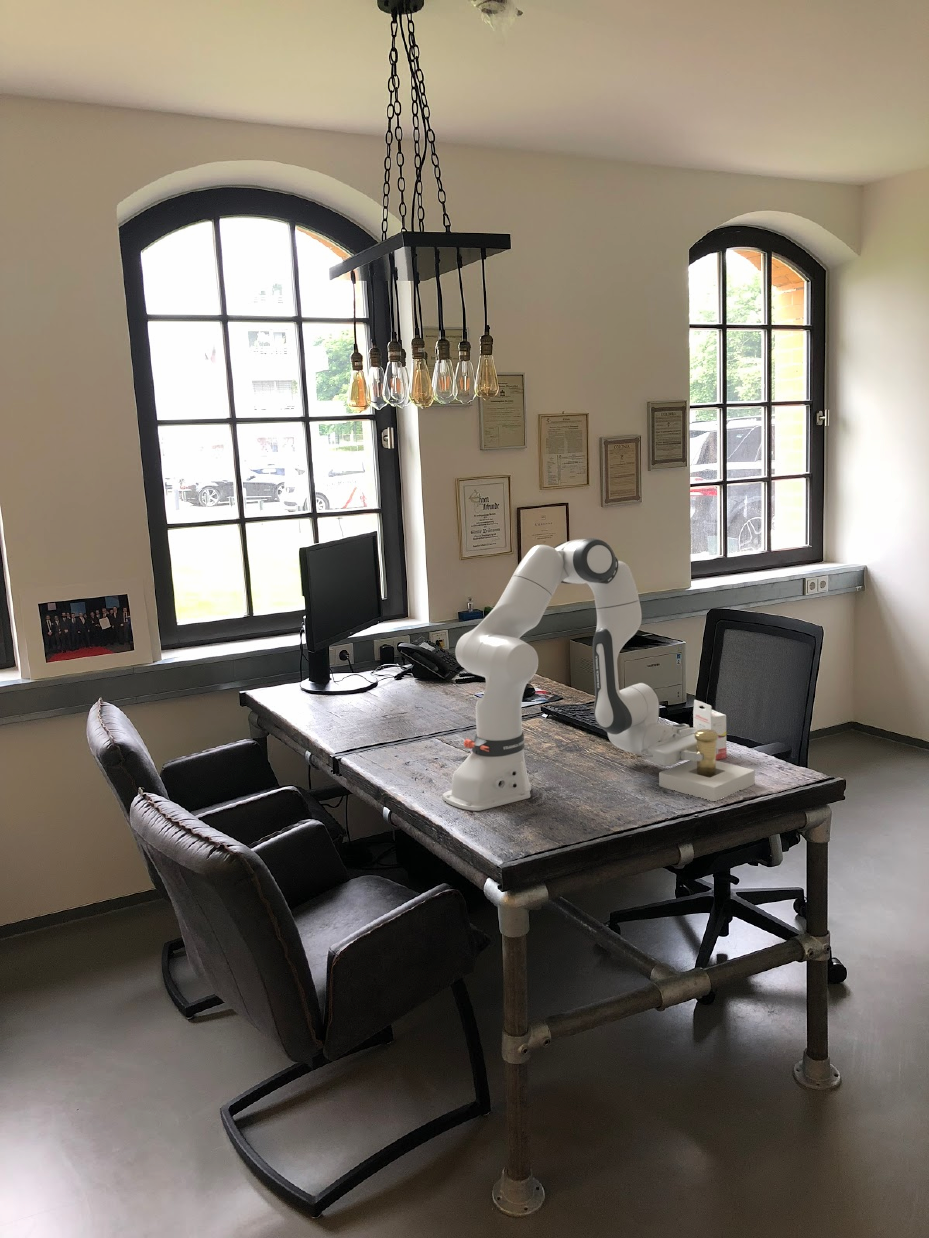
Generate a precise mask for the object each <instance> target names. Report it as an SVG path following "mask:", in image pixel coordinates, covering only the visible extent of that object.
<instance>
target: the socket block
mask: <svg viewBox="0 0 929 1238" xmlns="http://www.w3.org/2000/svg"><path fill="white" fill-rule="evenodd" d="M755 771H756V770H755V769H752V768H747V767H743V766H739V765H736V764H735V765H734V764H731V763H727V762H722V761H720V760H716V775H715V776H713V777H710V778H709V777H705V776H701V775H698V774H697V761H696V760H686V761H685V762H682V763H680V764H678V765H675V766H674V765H673V766H672V767H670V768H667V769H664V770H662V771H659V772H658V780H659V781H658V782H659V783H658V784H659V787H660V788H664V789H666V790H667V789H668V790H672V791H674V790H675V792H677V793H678V792H679V793H682V794H685V795H688V794H689V796H691V795H693V796H692V797H696V798H698V797H702V798H704V799H703V800H705V799H707V800H706V801H709V800H710V801H709V802H712V801H716V802H718V801H720V800H719V799H721V798H723V797H725V798H727V797H729V796H731V795H730V794H732V795H734V794H736V793H738V792H740V791H739V790H741V791H742V790H745V789H748V788H750V787H751V786H754V785H755V784H756V776H755V775H756V772H755ZM737 791H738V792H737ZM735 792H736V793H735ZM733 793H734V794H733ZM728 795H729V796H728ZM702 798H701V799H702ZM723 799H724V798H723ZM717 800H718V801H717ZM721 800H722V799H721Z"/></svg>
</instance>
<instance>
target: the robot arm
mask: <svg viewBox="0 0 929 1238" xmlns="http://www.w3.org/2000/svg"><path fill="white" fill-rule="evenodd" d="M561 583H562V584H565V585H566V584H578V585H583V584H586V585H588V586H589V588H590V590H591V591H592V594H593V596H594V597H593V598H594V605H595V610H596V629H595V633H594V635H593V638H592V662H593V665H592V666H593V676H594V677H593V679H594V680H593V681H594V702H593V703H594V705H593V717H594V719H595V722H596V723H597V726H598V727H600V728H601V729H602V730H603V731H604V732H606V733H607V737H608V739H609V741H610V742H611V744H613V745H614V746H615V747H616V748H618V749H620V750H623V751H625V752H628V753H632V754H634V755H635V754H636V755H641V756H642V757H646V758H647V760H648V761H649V762H650V763H654V764H656V765H658V766H663V767H671V766H674V765H676V764H678V763H681V762H684V761H690V760H696V761H701V760H703V759H704V754H703V753H700V752H697V740H696V739H695V732H697V731H698V730H701V729H698V728H693V727H690V725H689V724H686V723H678V724H661V723H658V722H659V718H660V717H659V716H660V699H659V695H658V693H657V692H656V690H655V689H654V688H653V687H652V686H650V685H649V684H647V683H644V682H638V683H635V684H632V685H630V686H627V687H625V688H622V689H620V684H619V672H618V670H619V669H618V658H619V654H620V651H621V650H622V649H623V647H624V646H625V644H627V642H628V641H629V640H631V638H633V637H634V636H635V635H636V633H637V632H638V631H639V629H640V626H641V625H642V616H643V615H642V607H641V603H640V602H641V601H640V598H639V597H640V596H639V591H638V588H637V585H636V581H635V578H634V577H633V573H632V571H631V568H630V567H629V565H628V563H625V562H624V561H622V560H618V558H617V557H616V554H615V552H614V550H613V549H612V547H611V546H610V545H609V544H608V542H605V541H604V540H602V539H599V538H592V537H591V538H587V539H585V538H580V539H579V538H577V539H572V540H569V541H563V542H561V543H558V544H556V545H555V546H554V547H552V546H550V545H547V544H537V545H535V546H533V547H531V548H530V549H529V550H528V552H527V553H526V554H525V556H524V557H522V559H521V561H520V562H519V564H518V565H517V567H516V569H515V570H514V572H513V574H512V576H511V578H510V580H509V581H508V583H507V585H506V587H505V589H504V591H502V594H501V596H500V598H499V600H498V601H497V603H496V604H495V605H494V607H493V608H492V609H491V611H490V612H489V613H488V614H487V615H486V616H485V617H484V619H482V620H481V622H480V623H478V625H476V626H475V627H474V628H473V629H471V630H470V631H468V632H466V633H464V634H463V635H461V636H460V638H458V640H457V643H456V646H455V651H454V652H455V653H454V654H455V658H456V661H457V662H458V664H459V665H460V666H461V667H462V668H464V669H465V670H466V671H467V672H468V673H470V674H472V675H476V676H479V677H482V678H485V687H484V691H483V694H482V697H479V699H478V700H477V701H476V704H475V707H474V708H475V724H476V725H475V726H476V734H475V736H474V740H471V739H468V738H466V739H464V741H463V746H464V747H465V748H468V749H471V752H470V754H469V755H468V756H467V757H466V758H465V760H464V761H463V762H462V763H461V764H460V765H459V767H458V768H457V769H456V770H454V772H453V775H452V778H451V789H450V790H447V791H446V792H444V793H442V797H443V798H442V800H443V801H444V802H445V801H446V802H445V803H447V804H449V805H452V806H453V807H456V808H459V809H463V810H467V811H475V812H476V811H477V812H479V811H484V810H488V809H492V808H496V807H499V806H503V805H508V804H511V803H515V802H519V801H522V800H527V799H529V798H531V790H532V785H531V783H530V779H529V776H528V773H527V766H526V761H525V753H524V749H525V747H526V745H525V742H526V741H525V733H524V732H523V726H522V725H523V723H522V721H523V719H522V704H523V697H524V692H525V689H526V686H527V684H528V683H529V682H530V680H532V678H534V676H535V674H536V673H537V670H538V668H539V656H538V653H537V650H536V649H535V648H534V647H533V646H531V644H529V643H527V642H526V641H524V640H522V639H521V637H522V636H523V635H524V634H526V633H527V632H528V631H530V630H532V629H534V628H535V627H537V626H538V624H539V623H540V621H541V619H542V617H543V615H544V614H545V611H546V610H547V608H548V606H549V604H550V602H551V600H552V598H553V596H554V594H555V592H556V590H557V588H558V586H559V585H560V584H561ZM716 754H718V748H717V740H716Z"/></svg>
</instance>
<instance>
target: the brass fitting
mask: <svg viewBox="0 0 929 1238" xmlns="http://www.w3.org/2000/svg"><path fill="white" fill-rule="evenodd" d="M695 739H696V740H697V752H700V753H703V754H704V759H703V760H701V761H697V774H698V775H701V776H705V777H709V778H710V777H713V776H715V775H716V761H717V760H716V740H717V739H718V733H716V732H715V731H714V730H710V729H701V730H698V731H697V732H695Z"/></svg>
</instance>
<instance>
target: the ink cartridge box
mask: <svg viewBox="0 0 929 1238" xmlns="http://www.w3.org/2000/svg"><path fill="white" fill-rule="evenodd" d="M700 707H703V708H700ZM692 714H693V715H692V718H693V721H692V722H693V725H692V726H693V727H692V728H698V729H710V730H714V731H715V732H716V733H718V739H717V748H718V754H716V761H719V760H722V759H727V756H728V755H727V752H728V751H727V715H726V714H724V713H721V712H720V711H719V712H718V711H716V710H714V709H713V706H712V705H710V704H707V703H705V702H703V701H700V700H697V699H694V700H693V711H692Z"/></svg>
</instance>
